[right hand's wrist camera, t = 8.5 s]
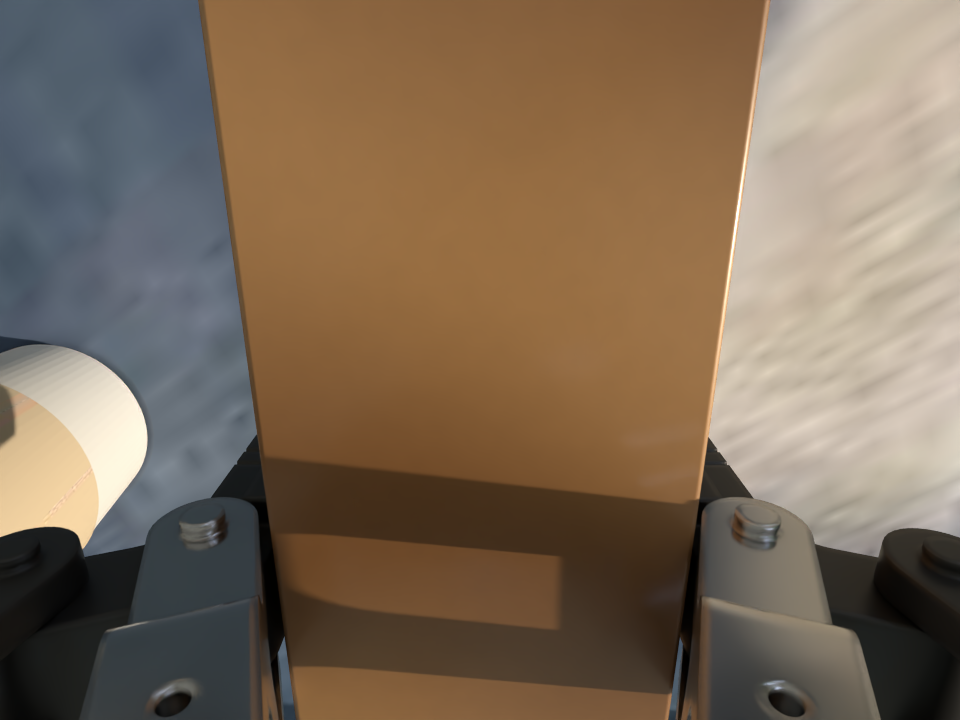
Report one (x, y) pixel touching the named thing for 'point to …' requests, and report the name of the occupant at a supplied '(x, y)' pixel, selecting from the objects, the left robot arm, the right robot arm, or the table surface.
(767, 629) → the right robot arm
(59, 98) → the table surface
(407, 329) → the beam
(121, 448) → the coffee cup
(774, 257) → the table surface
